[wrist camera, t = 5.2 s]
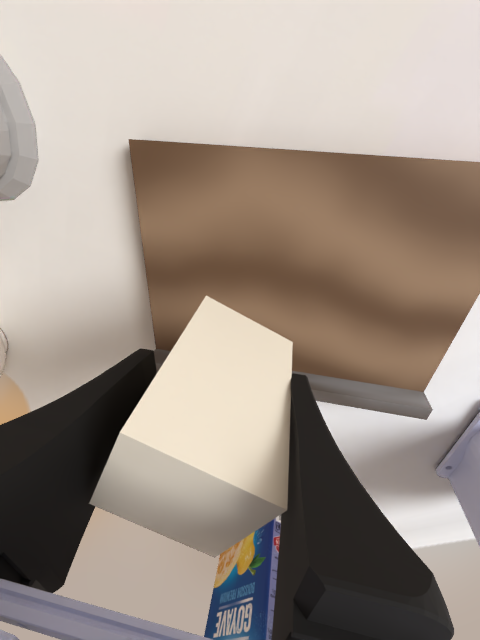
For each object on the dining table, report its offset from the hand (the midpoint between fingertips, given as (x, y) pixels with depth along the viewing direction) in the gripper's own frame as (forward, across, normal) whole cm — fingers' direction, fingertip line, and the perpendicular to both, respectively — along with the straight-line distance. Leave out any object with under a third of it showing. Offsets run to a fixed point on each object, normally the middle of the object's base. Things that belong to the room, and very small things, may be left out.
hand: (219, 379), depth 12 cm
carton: (+2, 0, 0) cm, 2 cm away
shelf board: (+9, -3, -1) cm, 9 cm away
